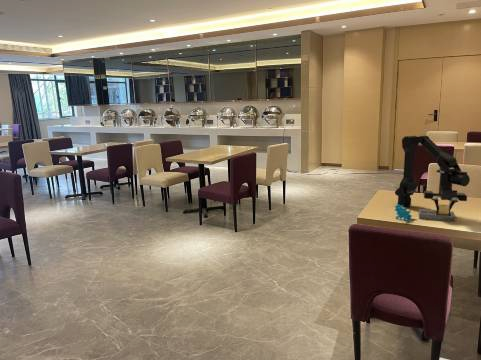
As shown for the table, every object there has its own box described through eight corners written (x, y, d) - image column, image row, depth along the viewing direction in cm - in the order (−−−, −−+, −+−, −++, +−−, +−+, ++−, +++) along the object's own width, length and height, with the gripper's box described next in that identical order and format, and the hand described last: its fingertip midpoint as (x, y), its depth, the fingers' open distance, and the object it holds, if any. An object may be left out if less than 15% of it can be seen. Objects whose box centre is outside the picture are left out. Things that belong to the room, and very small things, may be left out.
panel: (419, 218, 188) (419, 213, 188) (418, 213, 196) (418, 208, 196) (455, 221, 182) (455, 216, 182) (452, 216, 190) (453, 211, 190)
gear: (403, 221, 180) (393, 203, 185) (395, 227, 185) (385, 209, 190) (417, 219, 186) (406, 203, 191) (408, 225, 190) (398, 209, 195)
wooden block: (438, 215, 187) (439, 206, 186) (437, 212, 191) (438, 203, 190) (448, 215, 185) (449, 207, 184) (447, 213, 189) (448, 204, 188)
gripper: (426, 184, 180) (423, 215, 184) (470, 187, 173) (467, 218, 177) (424, 179, 190) (422, 208, 194) (466, 182, 183) (463, 212, 187)
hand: (443, 212), depth 188 cm, fingers closed on wooden block, 4 cm apart
